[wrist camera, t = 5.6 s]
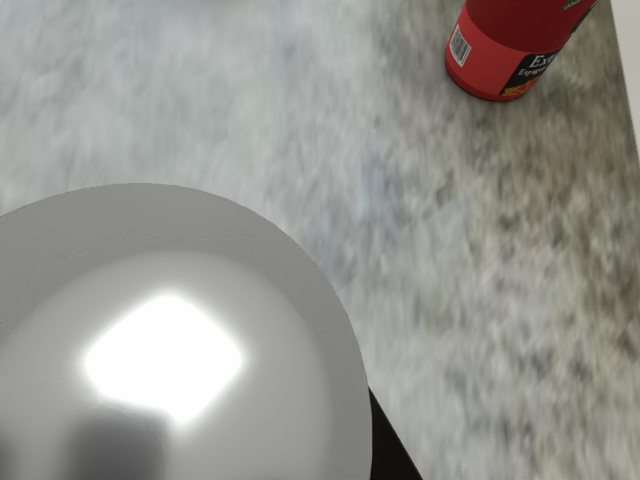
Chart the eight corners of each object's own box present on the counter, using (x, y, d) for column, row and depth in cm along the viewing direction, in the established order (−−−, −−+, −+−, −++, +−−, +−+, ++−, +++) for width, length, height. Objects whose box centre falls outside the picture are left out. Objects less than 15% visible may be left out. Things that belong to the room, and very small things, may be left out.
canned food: (509, 119, 29) (623, -30, 19) (424, 71, 31) (487, -90, 21) (546, 67, 32) (662, -87, 22) (466, 26, 33) (540, -136, 23)
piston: (340, 433, 14) (503, 539, 3) (214, 521, 13) (-302, 1274, 2) (276, 317, 16) (235, 116, 5) (159, 382, 14) (-277, 314, 3)
